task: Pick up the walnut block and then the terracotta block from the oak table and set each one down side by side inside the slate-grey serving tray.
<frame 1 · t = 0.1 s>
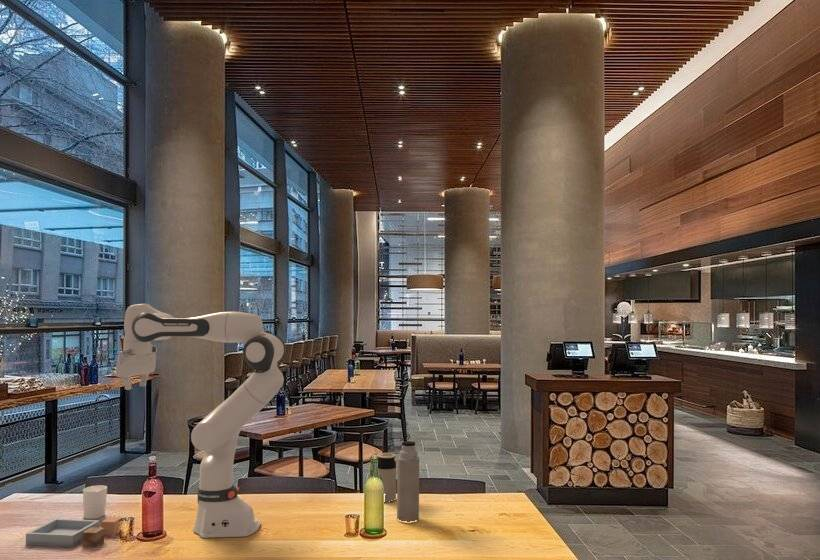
hand: (135, 387, 213), 48 cm above the table, fingers open, 8 cm apart
white cup: (94, 516, 219), on the table
tray: (63, 537, 198), on the table
thermos bottle: (407, 520, 217), on the table
travel mug: (385, 500, 240), on the table
terracotta block: (111, 533, 202), on the table
walnut block: (93, 544, 192), on the table
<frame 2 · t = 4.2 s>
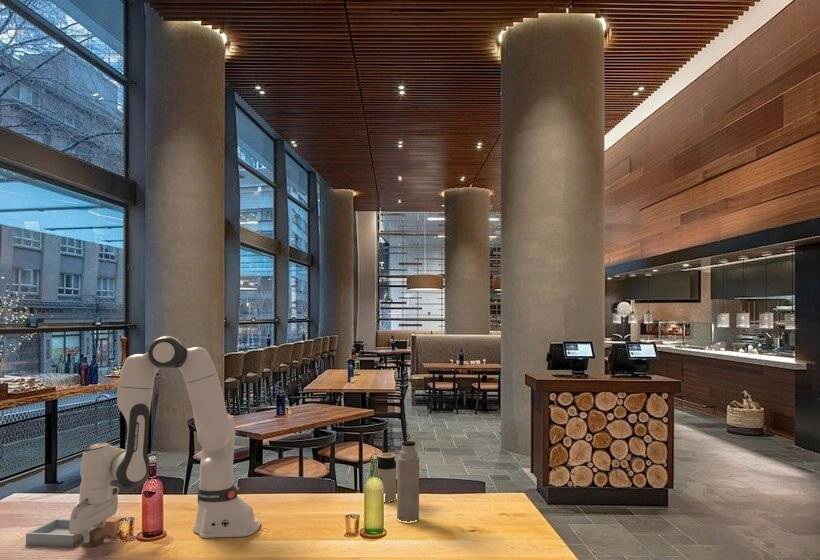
hand: (93, 538, 192), 2 cm above the table, fingers closed on walnut block, 4 cm apart
walnut block: (93, 543, 192), on the table, touching gripper
everything else where it was.
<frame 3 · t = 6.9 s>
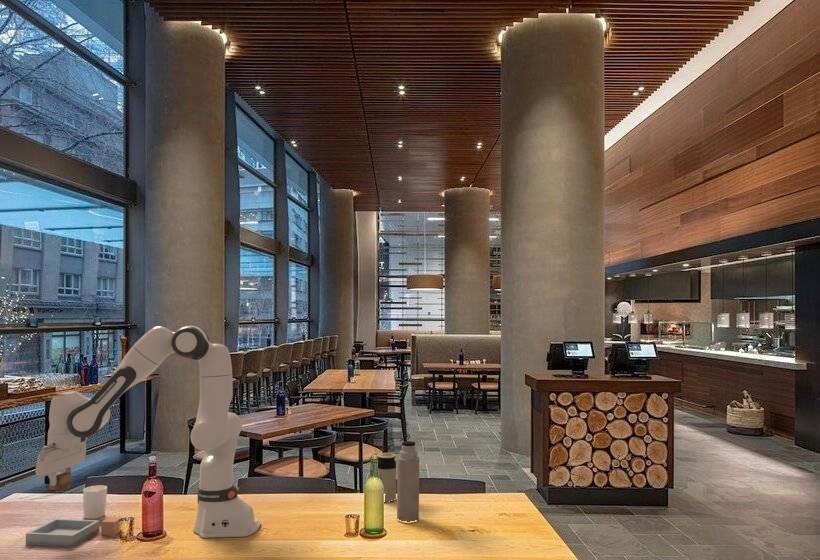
hand: (60, 482, 198), 18 cm above the table, fingers closed on walnut block, 4 cm apart
walnut block: (59, 487, 198), point 16 cm above the table, touching gripper
everything else where it was.
when the fingers open (4 cm above the table, at t = 10.1 s): walnut block drops 1 cm, resting on tray.
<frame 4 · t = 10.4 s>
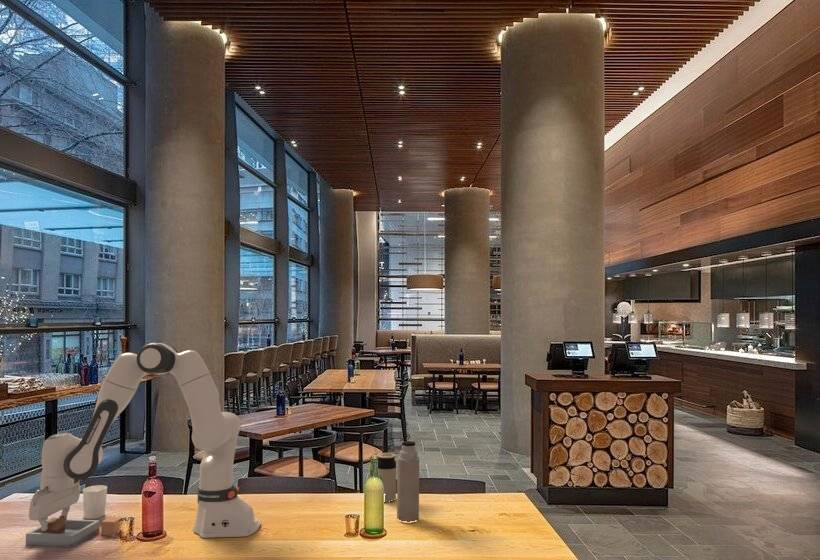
hand: (54, 525, 198), 4 cm above the table, fingers open, 7 cm apart
walnut block: (53, 534, 198), point 1 cm above the table, touching tray
everything else where it was.
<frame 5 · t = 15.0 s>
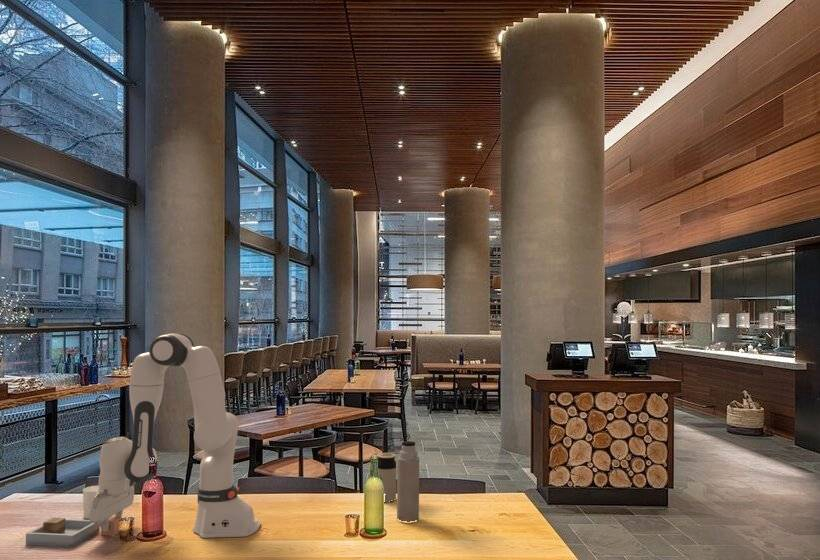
hand: (111, 527, 202), 2 cm above the table, fingers closed on terracotta block, 4 cm apart
terracotta block: (111, 532, 202), on the table, touching gripper
everything else where it was.
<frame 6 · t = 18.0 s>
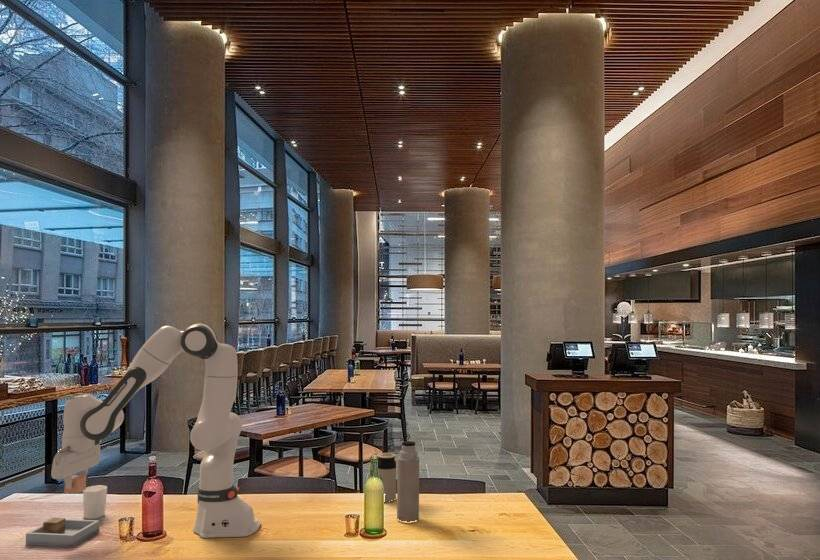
hand: (75, 485, 198), 17 cm above the table, fingers closed on terracotta block, 4 cm apart
terracotta block: (75, 490, 198), point 15 cm above the table, touching gripper
everything else where it was.
when the fingers open (4 cm above the table, at t = 20.7 s): terracotta block drops 1 cm, resting on tray.
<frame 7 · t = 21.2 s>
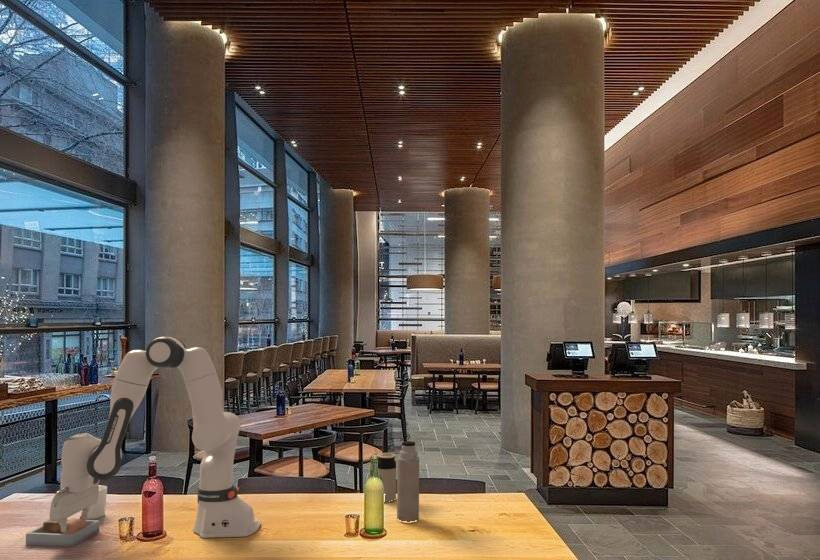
hand: (74, 526, 197), 4 cm above the table, fingers open, 8 cm apart
terracotta block: (73, 534, 197), point 1 cm above the table, touching tray
everything else where it was.
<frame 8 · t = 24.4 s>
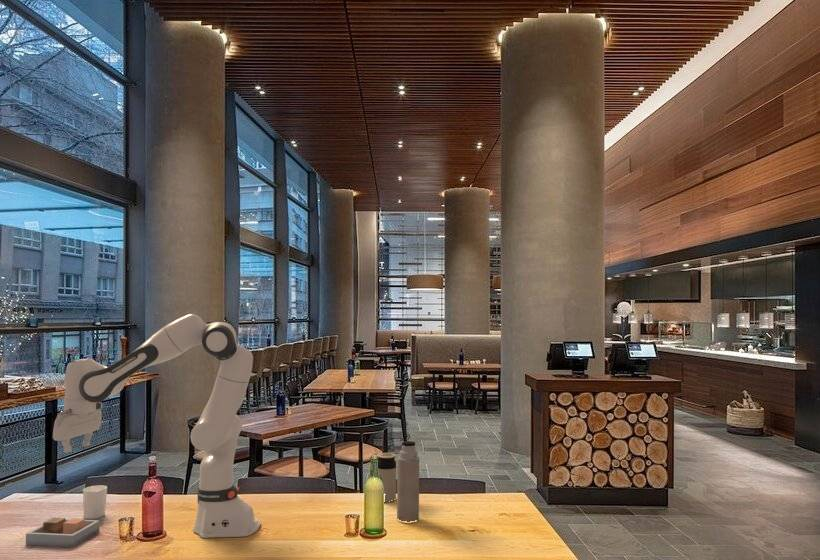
hand: (77, 448, 199), 29 cm above the table, fingers open, 8 cm apart
nothing on the table moved.
at the end: walnut block inside the target area on the tray (3.5 cm from its centre), point 1.0 cm above the tray's base; terracotta block inside the target area on the tray (3.5 cm from its centre), point 1.0 cm above the tray's base; the gripper is holding nothing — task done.
